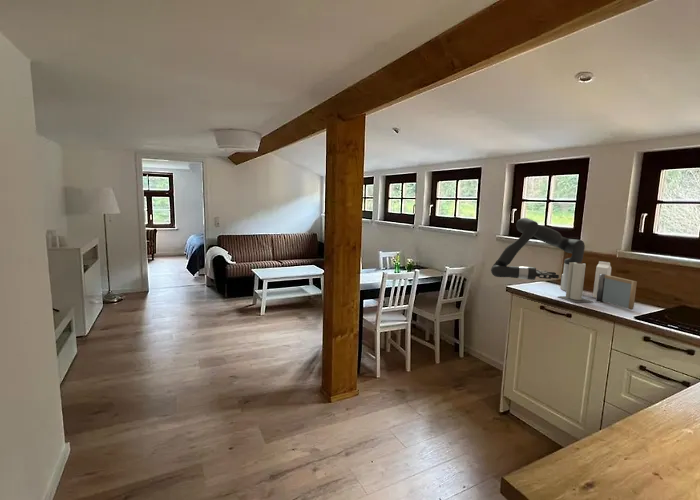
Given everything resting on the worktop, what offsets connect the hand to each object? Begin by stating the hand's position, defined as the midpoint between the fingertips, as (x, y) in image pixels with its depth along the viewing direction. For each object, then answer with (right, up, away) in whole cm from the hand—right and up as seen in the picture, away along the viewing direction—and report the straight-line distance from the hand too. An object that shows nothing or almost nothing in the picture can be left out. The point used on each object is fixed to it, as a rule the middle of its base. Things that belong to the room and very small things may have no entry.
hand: (557, 275), depth 220 cm
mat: (+10, -14, -1) cm, 17 cm away
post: (+23, -15, -3) cm, 27 cm away
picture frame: (+25, -15, -14) cm, 33 cm away
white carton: (+10, -14, -1) cm, 17 cm away
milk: (+29, -14, +5) cm, 33 cm away
